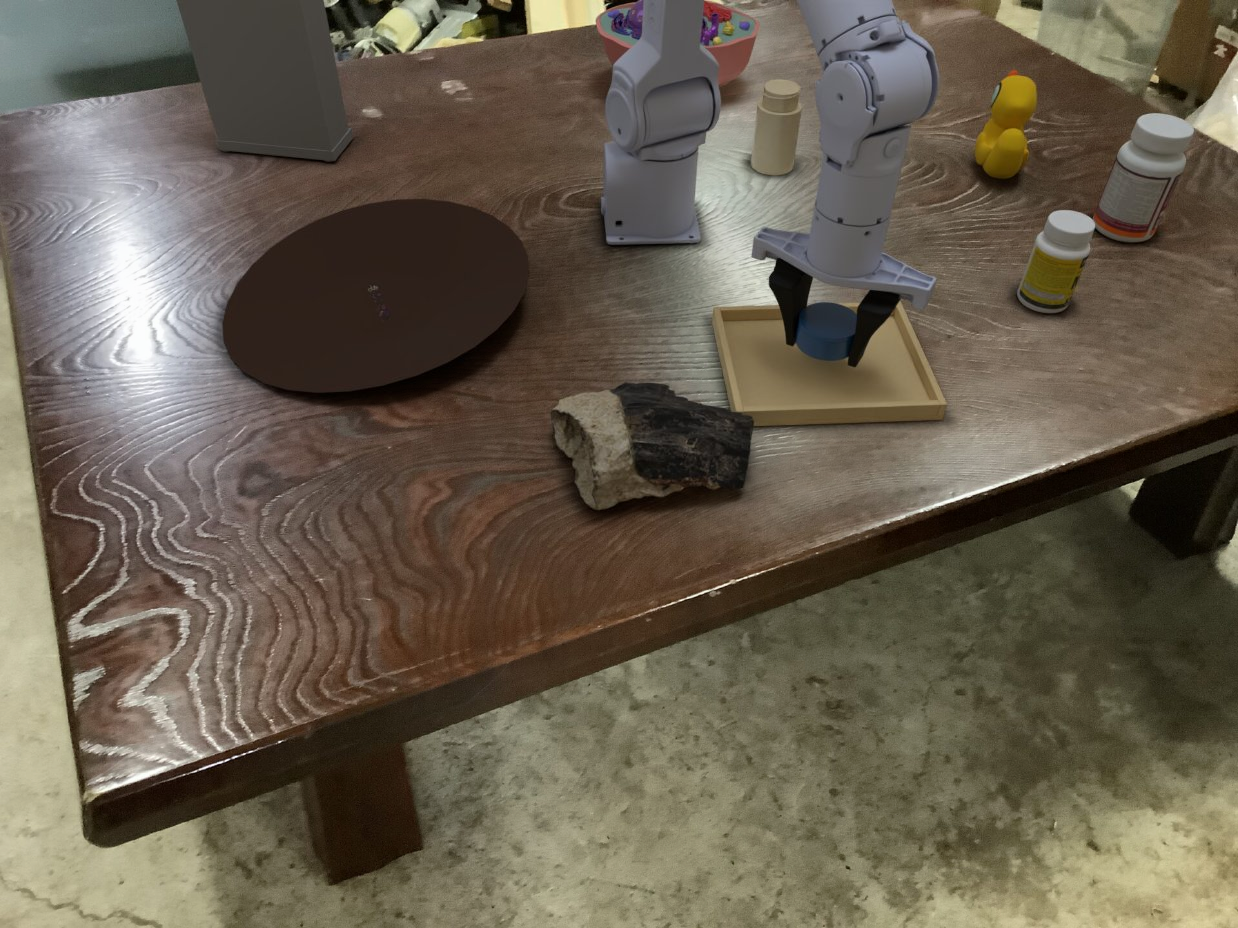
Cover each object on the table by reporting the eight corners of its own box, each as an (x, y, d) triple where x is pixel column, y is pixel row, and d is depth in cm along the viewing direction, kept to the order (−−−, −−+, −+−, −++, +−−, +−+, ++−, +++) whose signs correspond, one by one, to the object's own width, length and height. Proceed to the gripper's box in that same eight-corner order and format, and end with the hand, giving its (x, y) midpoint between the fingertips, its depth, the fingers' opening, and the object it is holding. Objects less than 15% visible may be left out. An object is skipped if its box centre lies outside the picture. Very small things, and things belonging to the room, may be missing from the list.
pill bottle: (1125, 209, 104) (1168, 106, 96) (1166, 238, 100) (1215, 134, 92) (1077, 219, 103) (1117, 115, 95) (1118, 249, 99) (1163, 144, 91)
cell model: (759, 121, 118) (770, 25, 110) (593, 118, 118) (592, 22, 110) (748, 63, 130) (757, -28, 122) (597, 61, 130) (597, -30, 122)
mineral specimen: (535, 365, 75) (715, 316, 78) (547, 435, 80) (715, 386, 83) (587, 472, 66) (788, 412, 69) (596, 543, 71) (783, 485, 74)
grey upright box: (355, 138, 114) (309, -102, 96) (335, 163, 110) (283, -83, 92) (243, 128, 115) (178, -110, 98) (219, 152, 111) (146, -92, 94)
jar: (755, 176, 108) (764, 97, 102) (746, 155, 112) (755, 78, 106) (797, 174, 109) (809, 95, 103) (788, 154, 112) (799, 76, 106)
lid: (856, 365, 81) (861, 342, 79) (793, 357, 81) (797, 335, 80) (856, 327, 84) (861, 305, 83) (796, 321, 85) (800, 299, 83)
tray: (734, 427, 79) (736, 411, 78) (711, 321, 89) (713, 306, 88) (942, 419, 80) (947, 404, 79) (897, 316, 90) (900, 301, 89)
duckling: (967, 142, 115) (991, 57, 108) (1015, 147, 114) (1042, 61, 107) (972, 190, 107) (998, 101, 100) (1023, 195, 106) (1053, 106, 99)
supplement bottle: (1071, 318, 90) (1103, 238, 84) (1018, 311, 91) (1046, 232, 85) (1065, 288, 94) (1096, 210, 88) (1013, 282, 94) (1041, 204, 88)
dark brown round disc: (204, 260, 96) (193, 227, 93) (479, 204, 104) (476, 172, 101) (247, 442, 77) (234, 407, 75) (576, 357, 86) (575, 323, 83)
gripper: (963, 208, 74) (922, 351, 83) (784, 160, 79) (765, 300, 88) (935, 253, 69) (895, 398, 79) (748, 199, 74) (732, 342, 84)
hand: (824, 349), depth 83 cm, fingers closed on lid, 5 cm apart
